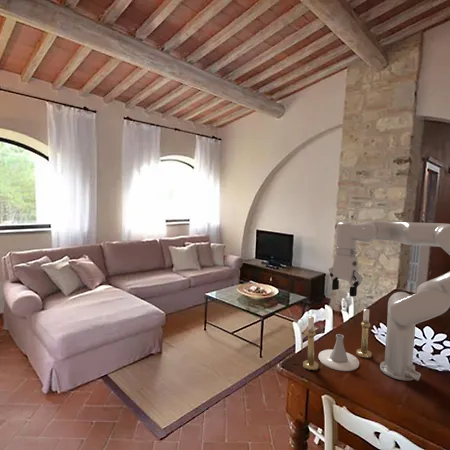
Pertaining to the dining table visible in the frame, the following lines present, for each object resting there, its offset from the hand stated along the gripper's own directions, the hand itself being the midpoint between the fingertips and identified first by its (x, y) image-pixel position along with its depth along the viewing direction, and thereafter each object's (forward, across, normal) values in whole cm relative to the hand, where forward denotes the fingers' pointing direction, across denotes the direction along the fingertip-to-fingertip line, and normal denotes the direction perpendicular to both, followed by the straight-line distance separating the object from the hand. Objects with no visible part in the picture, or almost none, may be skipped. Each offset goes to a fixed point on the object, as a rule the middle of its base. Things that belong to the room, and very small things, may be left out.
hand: (343, 292), depth 131 cm
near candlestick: (+28, 0, +16) cm, 33 cm away
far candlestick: (+29, -1, -12) cm, 31 cm away
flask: (+28, -1, +2) cm, 28 cm away
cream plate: (+29, -1, +2) cm, 29 cm away
